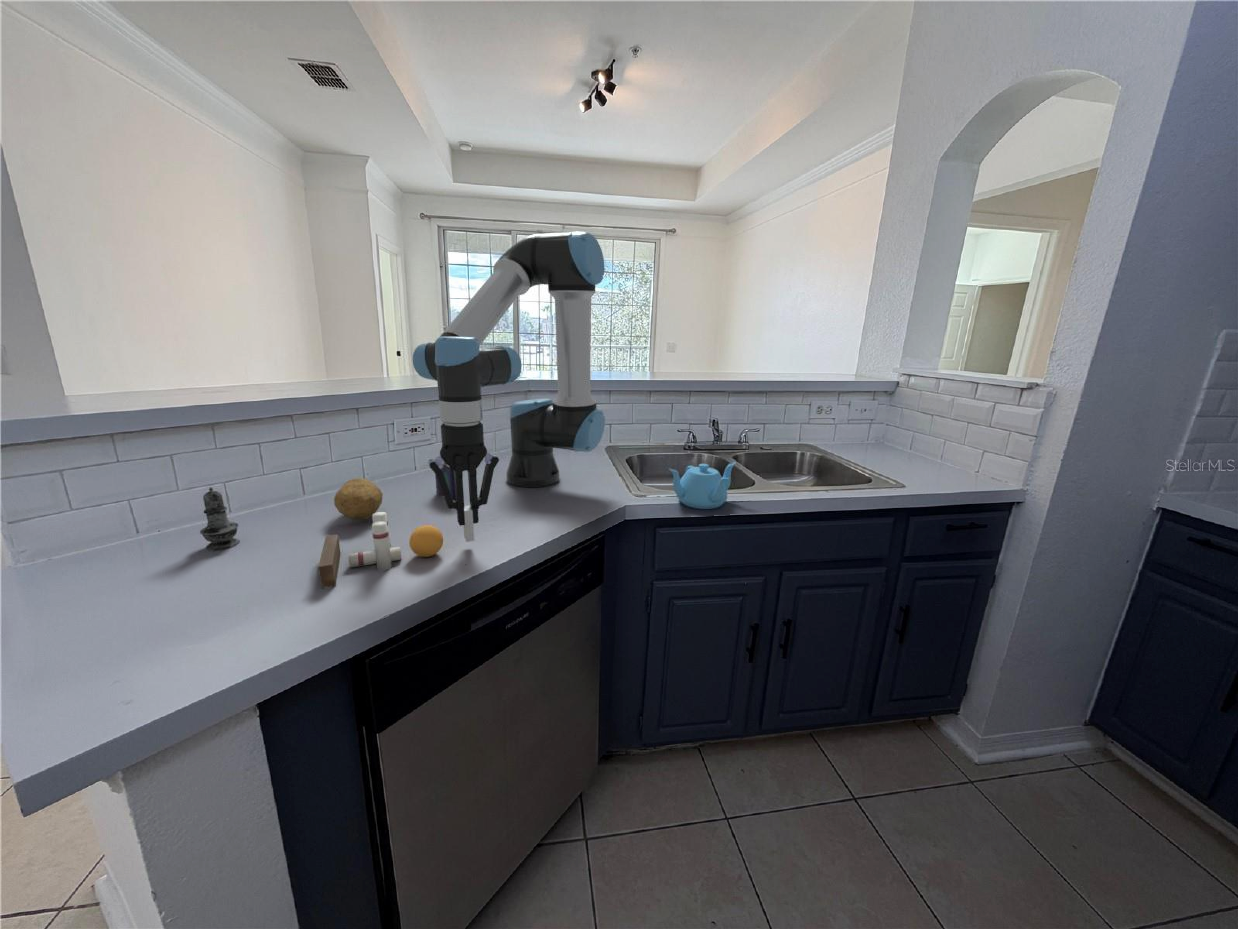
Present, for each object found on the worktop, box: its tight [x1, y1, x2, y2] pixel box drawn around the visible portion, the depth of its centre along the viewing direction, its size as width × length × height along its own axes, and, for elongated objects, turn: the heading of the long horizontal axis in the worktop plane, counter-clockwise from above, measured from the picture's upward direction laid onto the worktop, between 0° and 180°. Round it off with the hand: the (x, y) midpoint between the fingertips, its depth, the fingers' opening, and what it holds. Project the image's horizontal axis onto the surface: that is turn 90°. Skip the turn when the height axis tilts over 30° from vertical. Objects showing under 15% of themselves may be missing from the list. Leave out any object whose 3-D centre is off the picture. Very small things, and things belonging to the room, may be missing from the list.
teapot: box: [668, 461, 737, 510], centre depth 124 cm, size 15×15×10 cm
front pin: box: [348, 546, 402, 568], centre depth 89 cm, size 2×2×8 cm
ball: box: [409, 524, 444, 558], centre depth 92 cm, size 6×6×6 cm
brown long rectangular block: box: [318, 534, 342, 589], centre depth 86 cm, size 2×13×4 cm, turn 26°
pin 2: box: [371, 522, 393, 571], centre depth 87 cm, size 2×2×8 cm
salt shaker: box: [199, 486, 241, 552], centre depth 93 cm, size 6×6×12 cm
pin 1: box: [371, 511, 391, 547], centre depth 91 cm, size 2×2×8 cm
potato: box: [333, 477, 383, 521], centre depth 109 cm, size 10×14×8 cm
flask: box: [434, 460, 456, 501], centre depth 123 cm, size 9×3×11 cm, turn 50°
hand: (469, 538), depth 96 cm, fingers closed
